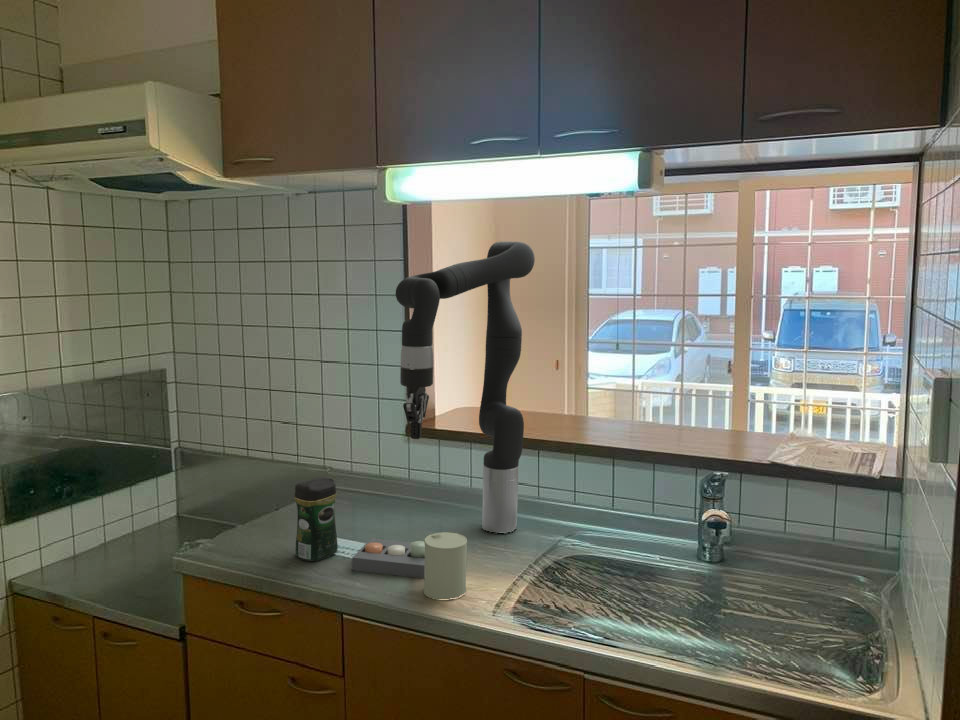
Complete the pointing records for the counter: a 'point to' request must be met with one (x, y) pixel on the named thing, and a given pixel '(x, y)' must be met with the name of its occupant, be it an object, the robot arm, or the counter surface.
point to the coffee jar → (316, 519)
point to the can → (445, 565)
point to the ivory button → (396, 550)
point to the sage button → (417, 549)
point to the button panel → (389, 561)
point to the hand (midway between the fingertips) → (416, 438)
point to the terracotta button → (374, 548)
